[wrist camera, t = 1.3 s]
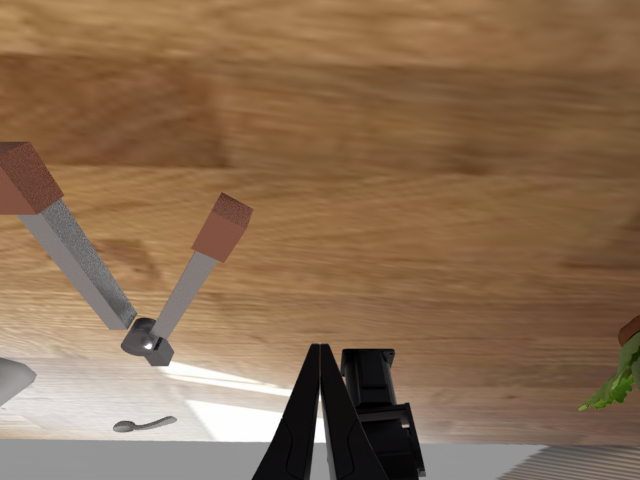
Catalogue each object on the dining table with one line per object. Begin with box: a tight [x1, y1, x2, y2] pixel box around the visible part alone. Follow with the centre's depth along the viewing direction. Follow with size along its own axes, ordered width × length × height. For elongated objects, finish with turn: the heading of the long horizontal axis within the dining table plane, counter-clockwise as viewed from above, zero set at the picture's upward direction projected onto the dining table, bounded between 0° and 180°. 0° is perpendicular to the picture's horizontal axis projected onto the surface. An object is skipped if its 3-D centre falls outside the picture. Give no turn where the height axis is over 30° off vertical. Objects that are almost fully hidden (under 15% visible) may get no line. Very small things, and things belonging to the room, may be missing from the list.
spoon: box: [113, 416, 177, 433], centre depth 49 cm, size 3×12×2 cm, turn 105°
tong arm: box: [121, 192, 253, 356], centre depth 25 cm, size 22×4×3 cm, turn 145°
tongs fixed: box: [0, 142, 174, 366], centre depth 25 cm, size 26×4×3 cm, turn 0°
